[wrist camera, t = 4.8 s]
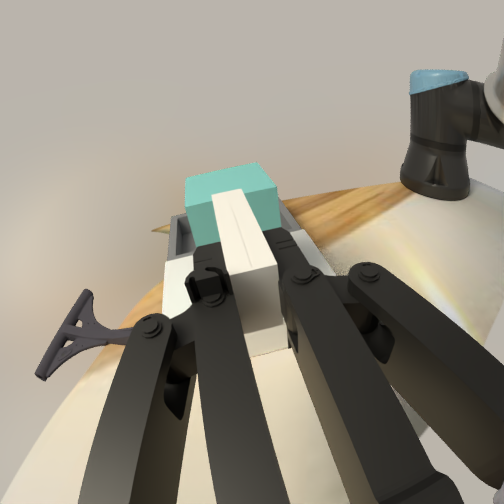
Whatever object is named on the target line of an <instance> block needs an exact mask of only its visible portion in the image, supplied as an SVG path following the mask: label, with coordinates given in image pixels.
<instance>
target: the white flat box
mask: <svg viewBox="0 0 504 504" xmlns="http://www.w3.org/2000/svg"><path fill="white" fill-rule="evenodd" d="M290 234H291V235H292V237H293V238H294V240H295V242H296V243H297V246H299V248H300V249H301V251H302V253H303V254H304V256H305V257H306V259H307V261H308V262H309V264H310V265H312V266H315V267H317V268H319V269H320V270H321V271H322V272H323V274H324V275H328V276H337V275H336V274H335V272H334V271H333V269H332V268H331V266H330V265H329V264H328V262H327V261H326V259H325V258H324V256H323V255H322V254H321V252H320V251H319V249H318V248H317V246H316V245H315V244H314V242H313V241H312V239H311V238H310V237H309V235H308V234H307V232H306V231H305V230H304V229H302V230H298V231H294V232H290ZM193 270H194V269H193V255H191V256H187V257H183V258H179V259H175V260H170V261H167V262H165V275H164V289H163V307H162V314H164V315H166V316H167V317H169V319H171V318H173V317H175V316H177V315H179V314H181V313H183V312H184V311H186V310H187V309H188V308H189V307H190V306H191V305H192V303H191V300H190V297H189V295H188V292H187V289H186V287H185V284H184V283H185V279H186V277H187V276H188V275H189V273H190V272H192V271H193ZM244 337H245V341H246V345H247V349H248V352H249V356H250V357H254V356H258V355H262V354H266V353H270V352H273V351H277V350H281V349H285V348H288V339H287V327H286V323H285V321H284V318H283V325H279V326H276V327H272V328H268V329H264V330H260V331H256V332H251V333H247V334H244Z"/></svg>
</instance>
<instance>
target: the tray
mask: <svg viewBox="0 0 504 504" xmlns="http://www.w3.org/2000/svg"><path fill="white" fill-rule="evenodd" d="M278 201H279V210H280V219H281V227H282V228H283V229H285V230H287V231H289V232H294V231H298V230H302V229H301V228H300V226H299V225H298V223H297V222H296V221H295V219H294V218H293V216H292V215H291V214H290V212H289V211H288V209H287V208H286V207H285V205H284V204H283V203H282V201H281V200H280V199H279V197H278ZM168 246H169V247H168V257H167V261H170V260H175V259H179V258H183V257H187V256H191V255H193V253H194V252H195V250H196V244H195V241H194V238H193V234H192V231H191V227H190V224H189V220H188V217H187V213H185V214H180V215H176V216H172V217H171V224H170V234H169V245H168Z"/></svg>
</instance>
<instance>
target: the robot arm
mask: <svg viewBox="0 0 504 504" xmlns="http://www.w3.org/2000/svg"><path fill="white" fill-rule="evenodd" d="M468 79H469V76H468V74H467V73H466V72H464V71H453V70H416V71H414V72H412V74H411V75H410V92H409V95H410V97H411V130H410V131H411V133H410V136H411V137H410V145H409V148H408V151H407V154H406V157H405V161H404V163H403V164H402V166H401V171H400V180H401V182H402V183H403V184H404V185H405V186H406V187H407V188H409V189H411V190H413V191H415V192H417V193H419V194H422V195H425V196H428V197H432V198H437V199H443V200H460V199H463V198H465V197H467V196H468V193H469V187H470V180H469V175H468V166H467V160H466V143H467V140H471V141H475V142H480V143H483V144H487V145H490V146H494V147H497V148H501V149H504V39H503V44H502V49H501V55H500V59H499V63H498V68H497V71H496V72H493V73H491V74H490V75H489V76H488V77H487V78H486V80H485V83H480V82H476V81H471V80H468ZM211 196H212V201H213V206H214V211H215V216H216V221H217V226H218V231H219V235H220V240H221V241H220V242H216V243H211V244H207V245H203V246H198V247H197V248H196V250H195V252H194V253H193V269H194V270H193V271H192V272H190V273H189V275H188V276H187V277H186V279H185V283H184V284H185V287H186V289H187V292H188V295H189V297H190V300H191V303H192V305H191V306H190V307H189V308H188V309H187V310H186V311H184V312H183V313H181V314H179V315H177V316H175V317H173V318H171V319H169V317H167V316H166V315H164V314H159V313H155V314H149V315H147V316H145V317H143V318H141V319H140V320H139V321H138V322H137V323H136V324H135V326H134V327H133V329H132V331H131V334H130V336H129V339H128V341H127V344H126V346H125V349H124V352H123V354H122V357H121V359H120V362H119V365H118V368H117V370H116V373H115V376H114V379H113V381H112V384H111V387H110V390H109V393H108V396H107V399H106V402H105V405H104V408H103V411H102V414H101V417H100V420H99V424H98V427H97V430H96V434H95V437H94V440H93V444H92V447H91V451H90V455H89V458H88V462H87V466H86V470H85V474H84V478H83V482H82V486H81V491H80V495H79V500H78V504H176V503H177V495H178V488H179V481H180V474H181V467H182V460H183V454H184V447H185V441H186V435H187V429H188V423H189V417H190V411H191V405H192V399H193V393H194V388H195V382H196V374H197V373H198V382H199V391H200V399H201V408H202V415H203V423H204V430H205V437H206V444H207V450H208V457H209V463H210V469H211V475H212V480H213V486H214V491H215V497H216V502H217V504H290V501H289V498H288V494H287V491H286V488H285V484H284V481H283V478H282V474H281V471H280V467H279V464H278V460H277V457H276V453H275V450H274V446H273V443H272V439H271V436H270V432H269V428H268V425H267V421H266V417H265V414H264V410H263V406H262V403H261V399H260V395H259V391H258V387H257V384H256V380H255V376H254V372H253V368H252V364H251V360H250V356H249V352H248V349H247V345H246V341H245V337H244V334H247V333H251V332H256V331H260V330H264V329H268V328H272V327H276V326H279V325H283V318H284V321H285V323H286V327H287V339H288V349H289V348H291V347H292V349H293V352H294V355H295V357H296V360H297V362H298V365H299V368H300V370H301V373H302V376H303V378H304V381H305V384H306V386H307V389H308V392H309V394H310V397H311V399H312V402H313V405H314V407H315V410H316V413H317V415H318V418H319V421H320V423H321V426H322V429H323V431H324V434H325V437H326V439H327V442H328V445H329V447H330V450H331V453H332V455H333V458H334V461H335V463H336V466H337V469H338V471H339V474H340V477H341V479H342V482H343V485H344V487H345V490H346V493H347V496H348V498H349V501H350V504H464V502H463V500H462V498H461V495H460V493H459V491H458V489H457V487H456V486H455V484H454V482H453V481H452V480H451V479H450V478H449V477H448V476H447V475H445V474H443V473H440V472H438V471H436V470H435V469H434V467H433V466H432V465H431V463H430V460H429V458H428V456H427V454H426V452H425V450H424V448H423V446H422V445H421V442H420V440H419V438H418V436H417V434H416V432H415V430H414V429H413V427H412V425H411V423H410V421H409V419H408V417H407V415H406V413H405V411H404V410H403V408H402V406H401V404H400V402H399V400H398V398H397V397H396V395H395V393H394V391H393V389H392V387H393V388H394V389H395V390H396V391H397V392H398V393H399V394H400V395H401V396H402V397H403V398H404V399H405V400H406V401H407V403H408V404H409V405H410V406H411V407H412V408H413V409H414V410H415V411H416V412H417V413H418V414H419V415H420V416H421V418H422V419H423V420H424V421H425V422H426V423H427V424H428V425H429V426H430V427H431V428H432V429H433V430H434V431H435V433H437V434H438V436H439V437H440V438H441V439H442V440H443V441H444V442H445V443H446V444H447V445H448V447H449V448H450V449H451V450H452V451H453V452H454V453H455V454H456V455H457V456H458V457H459V459H461V460H462V462H463V463H464V464H465V465H466V466H467V467H468V468H469V469H470V471H471V472H472V473H474V474H475V475H476V476H477V477H478V478H479V479H480V480H481V481H483V482H484V483H486V484H488V485H489V486H491V487H493V488H495V489H497V490H498V491H497V492H496V493H495V495H494V498H493V503H494V504H504V365H503V364H502V363H500V362H499V361H498V360H497V359H496V358H495V357H494V356H493V355H491V354H490V353H489V352H488V351H487V350H486V349H485V348H484V347H483V346H481V345H480V344H479V343H478V342H477V341H476V340H475V339H473V338H472V337H471V336H470V335H469V334H468V333H466V332H465V331H464V330H463V329H462V328H460V327H459V326H458V325H457V324H456V323H454V322H453V321H452V320H451V319H450V318H448V317H447V316H446V315H445V314H443V313H442V312H441V311H440V310H438V309H437V308H436V307H435V306H433V305H432V304H431V303H430V302H428V301H427V300H426V299H425V298H423V297H422V296H421V295H419V294H418V293H417V292H415V291H414V290H413V289H412V288H410V287H409V286H408V285H406V284H405V283H404V282H402V281H401V280H400V279H398V278H397V277H396V276H394V275H393V274H392V273H390V272H389V271H388V270H386V269H385V268H384V267H382V266H380V265H378V264H375V263H371V262H362V263H358V264H355V265H354V266H353V267H351V268H350V271H349V273H348V276H328V275H324V274H323V272H322V271H321V270H320V269H319V268H317V267H315V266H312V265H310V264H309V262H308V261H307V259H306V257H305V256H304V254H303V253H302V251H301V249H300V248H299V246H297V243H296V242H295V240H294V238H293V237H292V235H291V234H290V232H289V231H287V230H285V229H283V228H282V227H279V228H274V229H269V230H265V231H261V229H260V226H259V224H258V222H257V220H256V218H255V216H254V214H253V212H252V210H251V208H250V206H249V204H248V202H247V199H246V197H245V195H244V193H243V191H242V189H236V190H231V191H227V192H222V193H218V194H213V195H211ZM389 383H390V384H391V385H392V387H391V386H390V384H389Z"/></svg>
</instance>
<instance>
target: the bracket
mask: <svg viewBox="0 0 504 504" xmlns="http://www.w3.org/2000/svg"><path fill="white" fill-rule="evenodd" d="M93 300H94V297H93V293H92V292H91V291H90V290H88V289H84V290H83V292H82V294H81V295H80V297H79V298H78V300H77V301H76V303H75V304H74V306H73V307H72V309H71V311H70V312H69V314H68V315H67V317H66V319H65V320H64V322H63V324H62V325H61V327H60V328H59V330H58V332H57V334H56V335H55V337H54V339H53V340H52V342H51V344H50V346H49V347H48V350H47V351H46V353H45V355H44V356H43V358H42V360H41V362H40V364H39V366H38V368H37V370H36V372H35V375H36V376H37V377H38V378H39V379H41V380H42V381H45V382H46V380H47V378H49V377H50V376H51V375H52V374H53V373H54V372H55V371H56V370H57V369H58V368H59V367H60V366H61V365H62V364H63V363H65V362H66V361H67V360H68V359H70V358H71V357H73V356H75V355H76V354H78V353H79V352H81V351H84V350H87V349H89V348H93V347H97V346H106V345H107V344H108V343H109V344H118V345H126V344H127V341H128V339H129V336H130V334H131V331H132V329H133V327H131V328H124V329H118V330H110V329H108V328H106V327H104V326H102V325H101V324H100V323H98V322H97V321H96V319H95V317H94V314H93ZM78 320H80V321H82V328H81V327H76V324H77V322H78ZM67 341H74V342H73V343H72V344H70V345H69V346H67V347H64V345H65V343H66V342H67ZM63 347H64V348H63Z"/></svg>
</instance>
